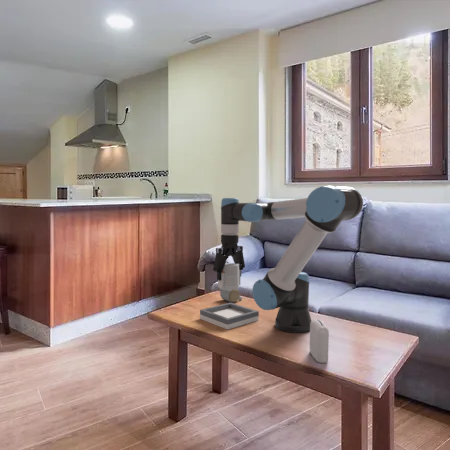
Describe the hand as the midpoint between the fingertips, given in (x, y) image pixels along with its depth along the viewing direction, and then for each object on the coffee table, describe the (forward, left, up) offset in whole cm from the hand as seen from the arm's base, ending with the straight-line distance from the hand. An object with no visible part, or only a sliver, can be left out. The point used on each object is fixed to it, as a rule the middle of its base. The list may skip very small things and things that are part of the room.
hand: (229, 285), depth 165 cm
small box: (0, 0, -1) cm, 1 cm away
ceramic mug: (+22, -22, -15) cm, 34 cm away
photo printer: (-48, +3, -15) cm, 51 cm away
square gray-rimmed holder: (0, 0, -15) cm, 15 cm away
